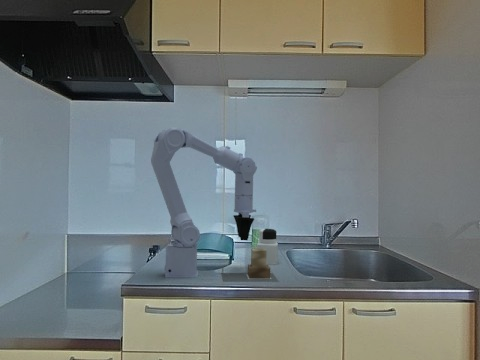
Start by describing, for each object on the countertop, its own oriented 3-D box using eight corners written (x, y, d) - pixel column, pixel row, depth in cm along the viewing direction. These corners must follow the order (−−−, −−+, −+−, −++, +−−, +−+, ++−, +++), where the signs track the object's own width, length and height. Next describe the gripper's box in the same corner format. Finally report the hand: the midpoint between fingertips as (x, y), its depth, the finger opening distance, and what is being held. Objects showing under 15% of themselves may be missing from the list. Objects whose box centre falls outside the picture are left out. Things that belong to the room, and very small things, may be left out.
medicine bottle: (277, 262, 167) (278, 228, 167) (277, 265, 160) (277, 230, 160) (257, 261, 168) (258, 227, 168) (256, 265, 161) (256, 229, 161)
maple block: (252, 267, 138) (253, 250, 138) (251, 265, 142) (251, 248, 142) (266, 267, 139) (266, 250, 139) (264, 265, 143) (264, 248, 143)
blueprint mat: (222, 282, 133) (222, 281, 133) (220, 274, 145) (220, 272, 145) (279, 282, 134) (279, 281, 134) (272, 274, 146) (272, 273, 146)
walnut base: (249, 278, 137) (249, 268, 137) (247, 274, 143) (247, 264, 143) (270, 278, 138) (270, 268, 138) (267, 274, 144) (267, 264, 144)
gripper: (259, 196, 142) (258, 241, 142) (253, 194, 157) (252, 235, 157) (236, 196, 142) (235, 241, 142) (232, 194, 156) (231, 235, 156)
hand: (242, 238), depth 149 cm, fingers open, 7 cm apart
